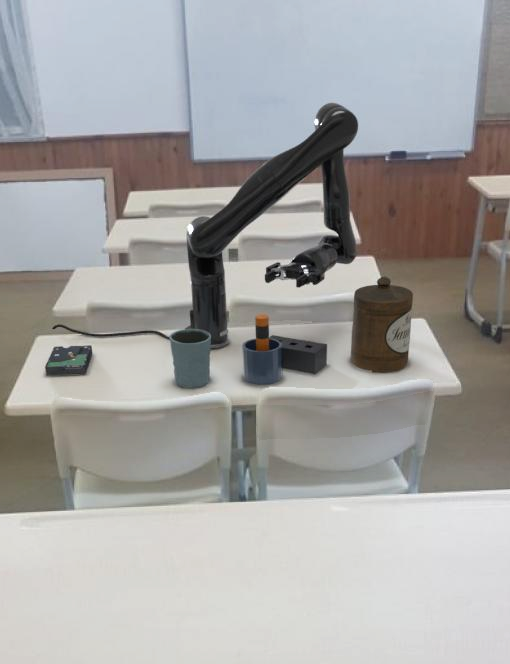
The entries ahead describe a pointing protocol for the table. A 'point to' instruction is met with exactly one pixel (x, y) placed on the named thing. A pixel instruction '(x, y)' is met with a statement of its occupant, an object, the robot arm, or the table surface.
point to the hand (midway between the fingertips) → (281, 281)
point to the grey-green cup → (191, 357)
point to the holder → (302, 354)
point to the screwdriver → (262, 332)
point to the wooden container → (381, 327)
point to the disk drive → (69, 360)
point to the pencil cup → (262, 363)
